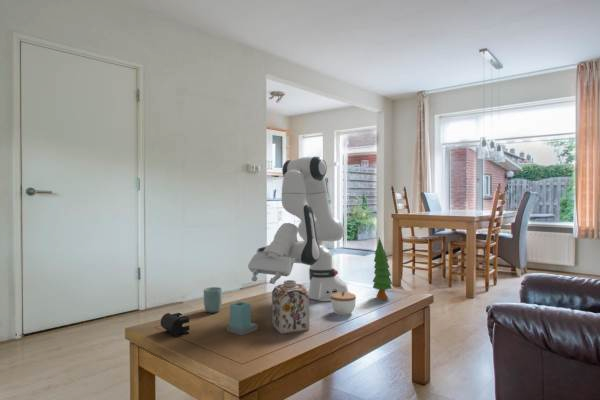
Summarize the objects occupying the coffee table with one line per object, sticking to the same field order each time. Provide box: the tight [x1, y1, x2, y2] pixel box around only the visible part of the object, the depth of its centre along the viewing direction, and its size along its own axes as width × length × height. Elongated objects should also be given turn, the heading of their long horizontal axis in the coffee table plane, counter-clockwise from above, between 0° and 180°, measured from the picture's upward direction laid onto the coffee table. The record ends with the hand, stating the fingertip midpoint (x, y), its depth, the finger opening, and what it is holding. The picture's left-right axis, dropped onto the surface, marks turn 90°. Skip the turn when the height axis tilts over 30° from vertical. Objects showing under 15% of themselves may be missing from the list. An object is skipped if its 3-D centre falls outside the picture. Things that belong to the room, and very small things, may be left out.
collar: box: [229, 301, 252, 328], centre depth 150 cm, size 5×5×8 cm
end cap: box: [160, 312, 190, 337], centre depth 149 cm, size 10×7×7 cm
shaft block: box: [226, 322, 258, 336], centre depth 150 cm, size 8×8×7 cm
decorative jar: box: [271, 279, 310, 335], centre depth 153 cm, size 12×12×18 cm
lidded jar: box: [330, 291, 357, 316], centre depth 171 cm, size 11×11×9 cm
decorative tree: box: [372, 237, 393, 300], centre depth 195 cm, size 10×9×30 cm
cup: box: [203, 286, 223, 314], centre depth 176 cm, size 8×8×10 cm
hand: (262, 281), depth 161 cm, fingers open, 8 cm apart
